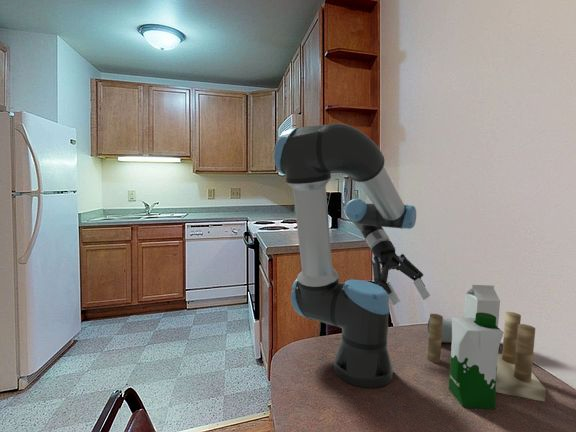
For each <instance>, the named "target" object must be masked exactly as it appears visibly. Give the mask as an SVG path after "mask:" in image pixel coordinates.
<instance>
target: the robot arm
mask: <svg viewBox="0 0 576 432" xmlns="http://www.w3.org/2000/svg"><path fill="white" fill-rule="evenodd" d="M273 160H274V166H275V168H276V169H277V170H278V172H279V173H280V174H282V175H285V183H286V185H288V186H289V187H290V188H292V191H293V199H294V208H295V209H294V211H295V219H296V220H295V221H296V228H297V229H296V230H297V237H298V238H297V239H298V247H299V256H300V264H301V265H300V267H301V270H300V272H299V273H298V274H297V276H296V277H297V278H296V279H295V280H294V282H292V283H293V284H292V287H291V288H292V290H291V292H290V301H291V305H292V308H293V309H294V311H295V312H296V313H297V314H298V315H299V316H302V317H304V318H306V319H309V320H311V321H317V322H320V323H323V324H325V325H330V326H334V327H337V328H340V329H341V340H340V344H339V346H338V349H337V351H336V354H335V356H334V361H333V370H334V372H335V374H336V375H337V377H339V378H340V379H341V380H342V381H345V382H346V383H348V384H350V385H353V386H356V387H361V388H362V387H363V388H380V387H384V386H386V385H388V384H390V382H391V381H392V380H393V372H394V371H393V370H394V369H393V365H392V361H391V357H390V356H391V355H390V353H389V350H388V346H387V345H388V331H389V315H390V309H391V308H390V302H391V304H392V306H395V305H397V304H398V303H399V302H401V300H400V298H399V296H398V294H397V293H396V292H395V289H394V288H393V285H392V284H391V282H390V281H388V276H389V271H390V270H396V271H400V272H401V273H402V274H404V275H405V276H406V277H408V278H410V279H411V280H412V283H413V285H414V286H415V289H417V292H418V293H419V294H420V297H421V298H422V300H423V301H424V300H425V301H426V299H428V298H429V297H430V296H431V295H430V292H429V291H428V290H427V287H426V285H425V283H424V281H423V280H422V278H423V276H424V273H423V272H422V271H420V270H419V269H418V267H416V266H415V265H414V264H413V263H412V262H411V261H410V260H409V259H408V258H407V257H406V255H405V254H404V253H401V254H400V255H398V254H397V253H396V247H395V246H394V244H393V242H392V241H391V239H390V237H389V236H388V234H387V232H386V231H385V229H384V228H392V229H400V230H403V229H408V230H409V229H412V228H414V227H415V225H416V221H417V209H416V207H415V206H413V205H410V204H404V202H403V200H402V199H401V196H400V194H399V193H398V191H397V189H396V187H395V185H394V183H393V181H392V179H391V178H390V176H389V173H388V172H387V170H386V168H385V162H386V161H385V156H384V154H383V152H382V151H381V149H380V147H379V146H378V145H377V144H376V142H375V141H374V140H372V139H371V138H370V137H369V136H368V135H367V134H365V133H364V132H362V130H359V129H358V128H356V127H354V126H352V125H349V124H347V123H341V122H338V123H337V122H335V123H334V122H333V123H330V124H318V125H310V126H298V127H295V128H290V129H287V130H284V131H283V132H282V133H281V134H280V135H279V137H278V139H277V140H276V141H275V145H274V151H273ZM332 174H342V175H343V174H344V175H346V176H348V178H350V180H352V181H353V182H356V183H358V184H359V186H360V187H361V189H362V190H363V192H364V193H365V194H366V196H367V197H368V199H369V200H370V201H371V203H367V202H365V201H363V199H359V198H353V199H351V200H349V201H348V202H347V203H346V205H345V207H344V213H345V216H346V217H347V218H348V220H349V221H350V222H351V223H352V224H353V225H354V226H356V228H357V229H359V231H360V233H361V235H362V236H363V237H364V240H365V241H366V244H367V245H368V247H369V249H370V251H371V253H372V256H373V258H372V259H371V260H370V262H371V265H372V271H373V273H372V275H373V281H374V283H373V282H371V281H368V280H367V281H366V280H362V279H361V280H358V279H348V280H346V281H345V282H344V283H341V282H340V281H339V280H340V279H339V272H338V271H336V269H334V268H333V261H332V249H331V248H332V247H331V235H330V222H329V220H330V219H329V211H328V210H329V209H328V200H327V199H328V196H327V195H328V194H327V184H328V183H329V182H330V181H331V179H332V176H331V175H332Z"/></svg>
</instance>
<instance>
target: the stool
mask: <svg viewBox="0 0 576 432" xmlns="http://www.w3.org/2000/svg"><path fill="white" fill-rule="evenodd" d="M521 318H522V316H521V314H520V313H516V312H512V311H506V312H505V316H504V328H503V332H504V333H503V338H502V339H503V341H502V353H498V362H497V375H496V393H499V394H502V395H503V394H504V395H509V396H515V397H518V398H519V397H520V398H523V399H524V398H525V399H528V400H529V399H530V400H534V401H539V402H546V393H547V389H546V387H545V386H544V385H543V384H542V382H541V381H540V380H539V379H538V378H537V376H536V375H535V374H534V373H533V361H534V349H535V337H536V327H535V326H532V325H529V324H525V323H521Z"/></svg>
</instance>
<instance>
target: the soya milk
mask: <svg viewBox="0 0 576 432" xmlns="http://www.w3.org/2000/svg"><path fill="white" fill-rule="evenodd" d="M451 320H452V343H451V347H450V350H451V351H450V365H449V376H448V377H449V380H448V390H449V391H450V393H452V395H453V397H455V399H456V400H457V402H459V404H460V406H462V408H471V409H489V410H490V409H491V410H496V393H497V392H496V375H497V362H498V354H499V348H500V344H501V341H502V339H503V337H504V330H502V329H500V328H499V326H498V327H497V326H496V317H495V316H494V315H491V314H488V313H476V318H466V317H464V316H462V317H451Z"/></svg>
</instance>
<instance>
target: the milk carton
mask: <svg viewBox="0 0 576 432" xmlns="http://www.w3.org/2000/svg"><path fill="white" fill-rule="evenodd" d="M500 304H501V300H500V298H499V296H498V294H497V292H496V289H495V285H493V284H491V285H487V284H472V285H471V288H470V289H469V290H468V291H466V293H465V299H464V313H463V314H464V315H463V317H466V318H476V313H488V314H491V315H494V316H495V317H496V326H497V327H498V328H499V319H500V307H501V306H500Z"/></svg>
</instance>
